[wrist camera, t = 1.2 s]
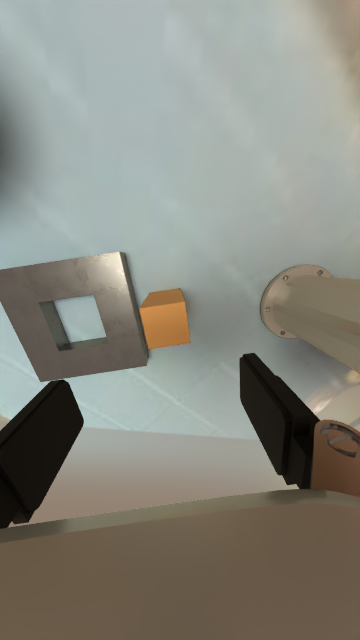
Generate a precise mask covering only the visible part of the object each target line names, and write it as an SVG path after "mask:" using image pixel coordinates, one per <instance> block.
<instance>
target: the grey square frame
mask: <svg viewBox="0 0 360 640" xmlns="http://www.w3.org/2000/svg"><path fill="white" fill-rule="evenodd" d="M91 294H94V297H95V300H96V304H97V307H98V310H99V313H100V316H101V320H102V323H103V326H104V329H105V333H106V336H107V337H105V338H99V339H92V340H86V341H79V342H73V343H69V340H68V338H67V335H66V333H65V330H64V328H63V325H62V323H61V320H60V318H59V315H58V313H57V310H56V307H55V305H54V302H53V300H58V299H65V298H71V297H78V296H84V295H91ZM0 302H1V304H2V306H3V308H4V310H5V312H6V314H7V316H8V318H9V320H10V322H11V324H12V326H13V328H14V330H15V332H16V334H17V336H18V338H19V340H20V342H21V344H22V346H23V348H24V350H25V352H26V354H27V356H28V358H29V360H30V362H31V364H32V366H33V368H34V370H35V372H36V374H37V376H38V378H39V380H40V382H44V381H51V380H57V379H64V378H70V377H77V376H83V375H90V374H96V373H103V372H109V371H116V370H122V369H129V368H135V367H142V366H147V362H148V358H149V355H148V351H147V347H146V342H145V338H144V334H143V329H142V325H141V321H140V317H139V312H138V308H137V304H136V299H135V295H134V291H133V286H132V282H131V278H130V273H129V269H128V265H127V261H126V256H125V253H123V252H114V253H108V254H101V255H95V256H88V257H81V258H75V259H68V260H62V261H55V262H48V263H42V264H35V265H29V266H22V267H15V268H9V269H2V270H0Z"/></svg>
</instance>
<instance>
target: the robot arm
mask: <svg viewBox="0 0 360 640" xmlns="http://www.w3.org/2000/svg"><path fill="white" fill-rule="evenodd" d="M261 317H262V320H263V322H264V324H265V325H266V327H267V328H268V329H269V330H270V331H271V332H273V333H274V334H276V335H278V336H280V337H283V338H300V339H302V340H304V341H305V342H307V343H309V344H310V345H312V346H314V347H316V348H317V349H319V350H321V351H322V352H324V353H326V354H327V355H329V356H331V357H333V358H334V359H336V360H338V361H339V362H341V363H343V364H344V365H346V366H348V367H350V368H351V369H353V370H355V371H356V372H358V373H360V280H353V279H343V278H333V277H332V275H331V274H330V273H329V272H328V271H326V270H325V269H324V268H321V267H319V266H314V265H299V266H295V267H292V268H289V269H287V270H285V271H283V272H282V273H280V274H279V275H278V276H277V277H275V278H274V279H273V281H272V282H271V283H270V284H269V286H268V287H267V289H266V290H265V293H264V295H263V297H262V301H261ZM240 399H241V403H242V405H243V407H244V409H245V411H246V413H247V415H248V417H249V419H250V421H251V423H252V425H253V427H254V429H255V431H256V433H257V435H258V437H259V439H260V441H261V443H262V445H263V447H264V449H265V451H266V452H267V455H268V457H269V459H270V461H271V463H272V465H273V467H274V469H275V471H276V472H277V474H278V475H282V476H283V478H284V480H285V482H286V484H287V485H291V484H297V486H298V487H299V489H294V490H277V491H269V492H260V493H251V494H243V495H234V496H226V497H220V498H211V499H204V500H197V501H190V502H182V503H175V504H168V505H160V506H153V507H147V508H139V509H132V510H125V511H118V512H112V513H104V514H98V515H90V516H84V517H77V518H70V519H63V520H56V521H50V522H43V523H36V524H30V525H23V526H16V527H10V528H7V527H8V526H9V524H10V523H11V521H12V522H13V523H14V524H20V523H27V522H29V520H30V518H31V517H32V515H33V513H34V511H35V510H36V509H37V508H39V506H40V505H41V503H42V501H43V499H44V497H45V496H46V494H47V492H48V490H49V488H50V486H51V484H52V483H53V481H54V479H55V477H56V475H57V473H58V471H59V470H60V468H61V466H62V464H63V462H64V460H65V458H66V457H67V455H68V453H69V451H70V449H71V447H72V445H73V444H74V442H75V440H76V438H77V436H78V434H79V432H80V431H81V428H82V427H83V424H84V419H83V417H82V414H81V412H80V409H79V407H78V404H77V402H76V399H75V397H74V395H73V392H72V390H71V387H70V385H69V383H68V382H66V381H65V380H55V381H51V382H49V383H48V384H47V385H46V386H45V387H44V388H43V389H42V390H41V391H40V392H39V393H38V394H37V395H36V396H35V397H34V398H33V399H32V400H31V401H30V402H29V403H28V404H27V405H26V406H25V407H24V408H23V409H22V410H21V411H20V412H19V413H18V414H17V415H16V416H15V417H14V418H13V419H12V420H11V421H10V422H9V423H8V424H7V425H6V426H5V427H4V428H3V429H2V430H1V431H0V640H360V432H359V431H357V430H355V429H354V428H352V427H351V426H349V425H346V424H344V423H342V422H338V421H334V420H322V421H320V420H319V419H318V417H317V416H316V415H315V414H314V413H313V412H312V411H311V410H310V409H309V408H308V407H307V406H306V405H305V404H304V403H303V402H302V401H301V399H300V398H299V397H298V396H297V395H296V394H295V393H294V392H293V391H292V390H291V389H290V388H289V387H288V386H287V385H286V384H285V382H284V381H283V380H282V379H281V378H280V377H278V376H275V375H274V374H273V373H272V371H271V370H270V369H269V368H268V367H267V366H266V365H265V364H264V363H263V362H262V361H261V359H260V358H259V357H258V356H257V355H256V354H255V353H249V354H243V357H241V358H240Z"/></svg>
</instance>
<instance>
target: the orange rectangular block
mask: <svg viewBox="0 0 360 640" xmlns="http://www.w3.org/2000/svg"><path fill="white" fill-rule="evenodd" d="M139 310H140V314H141V318H142V323H143V327H144V331H145V336H146V340H147V345H148V349H154V348H161V347H167V346H174V345H180V344H187V343H191V342H190V335H189V327H188V320H187V313H186V305H185V300H184V298H183V295H182V292H181V289H180V288H179V289H172V290H165V291H159V292H152V293H149V295H148V296H147V298H146V299H145V301H144V302H143V304H142V305H141V307H140V308H139Z"/></svg>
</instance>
